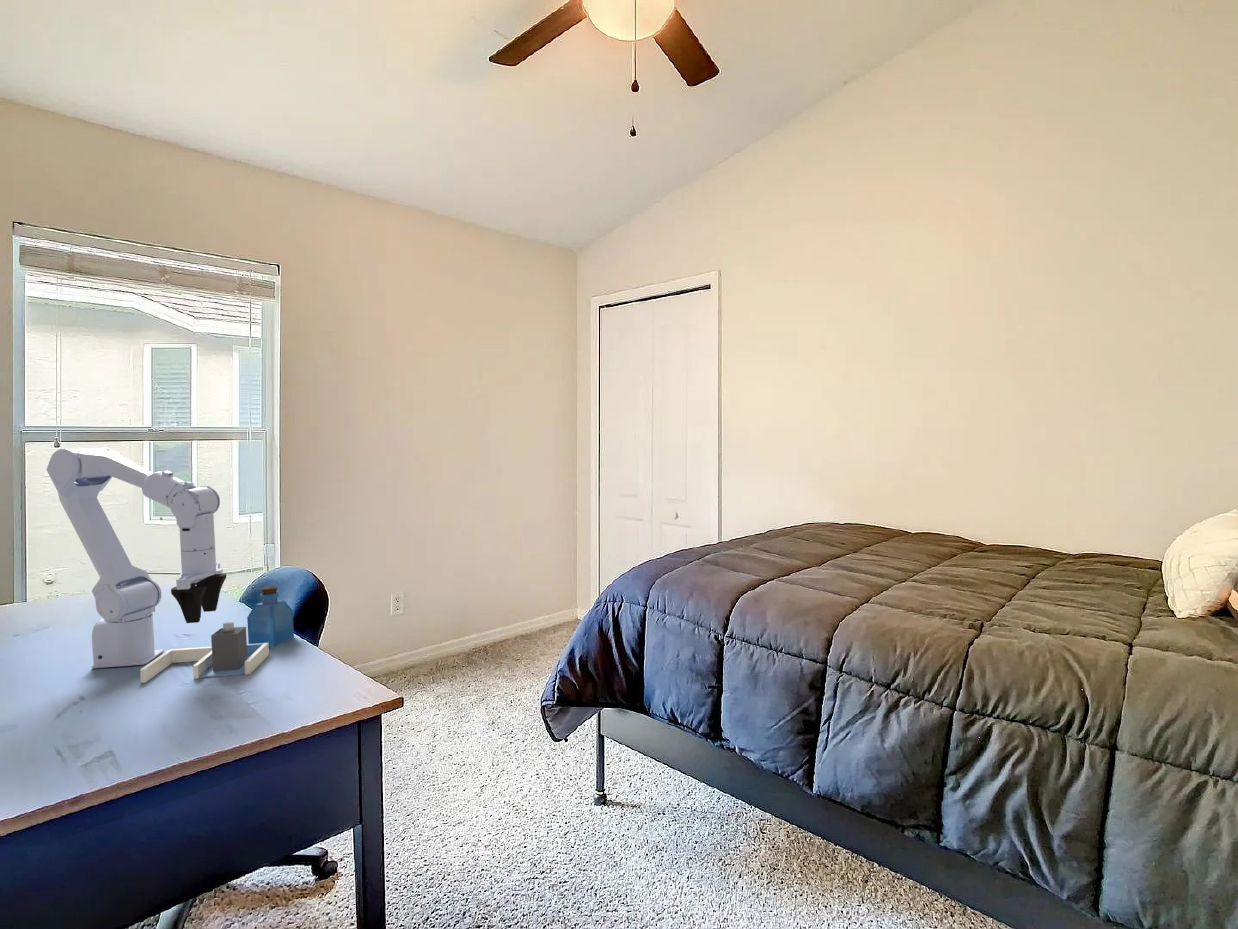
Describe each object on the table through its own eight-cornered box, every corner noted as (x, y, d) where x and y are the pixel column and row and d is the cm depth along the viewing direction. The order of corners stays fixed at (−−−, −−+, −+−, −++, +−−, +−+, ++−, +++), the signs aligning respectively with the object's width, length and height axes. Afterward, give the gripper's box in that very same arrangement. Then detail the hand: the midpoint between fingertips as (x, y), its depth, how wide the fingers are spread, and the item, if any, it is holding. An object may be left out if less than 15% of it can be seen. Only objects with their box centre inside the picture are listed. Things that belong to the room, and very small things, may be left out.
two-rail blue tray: (140, 682, 119) (140, 669, 119) (169, 661, 130) (168, 649, 129) (249, 674, 123) (249, 661, 122) (269, 654, 133) (268, 642, 133)
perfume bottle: (273, 647, 138) (271, 591, 137) (248, 645, 139) (245, 590, 138) (293, 637, 144) (291, 584, 143) (269, 636, 145) (267, 583, 144)
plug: (213, 671, 123) (210, 627, 123) (222, 663, 128) (220, 620, 127) (238, 669, 124) (236, 626, 124) (247, 661, 129) (245, 619, 128)
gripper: (204, 555, 121) (208, 626, 122) (234, 541, 135) (237, 605, 136) (162, 557, 120) (166, 629, 120) (197, 542, 134) (200, 607, 135)
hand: (201, 616), depth 128 cm, fingers open, 7 cm apart
